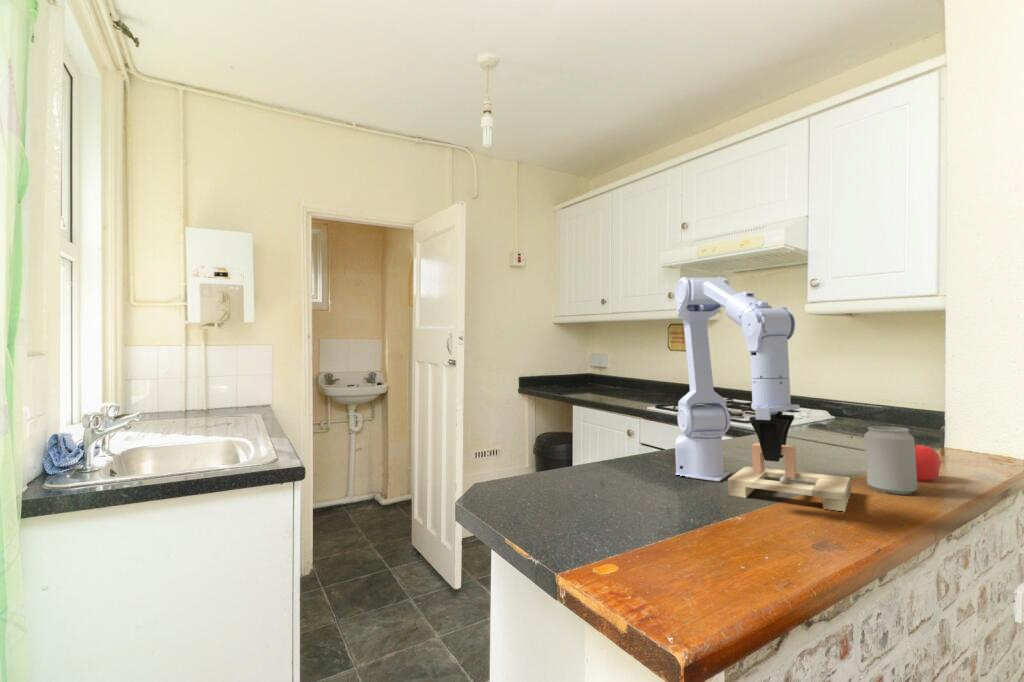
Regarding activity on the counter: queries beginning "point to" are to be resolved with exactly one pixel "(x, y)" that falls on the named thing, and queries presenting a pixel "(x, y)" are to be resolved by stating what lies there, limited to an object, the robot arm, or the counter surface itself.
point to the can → (890, 460)
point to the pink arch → (786, 450)
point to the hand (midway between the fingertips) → (773, 459)
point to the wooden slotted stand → (793, 485)
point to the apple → (926, 463)
